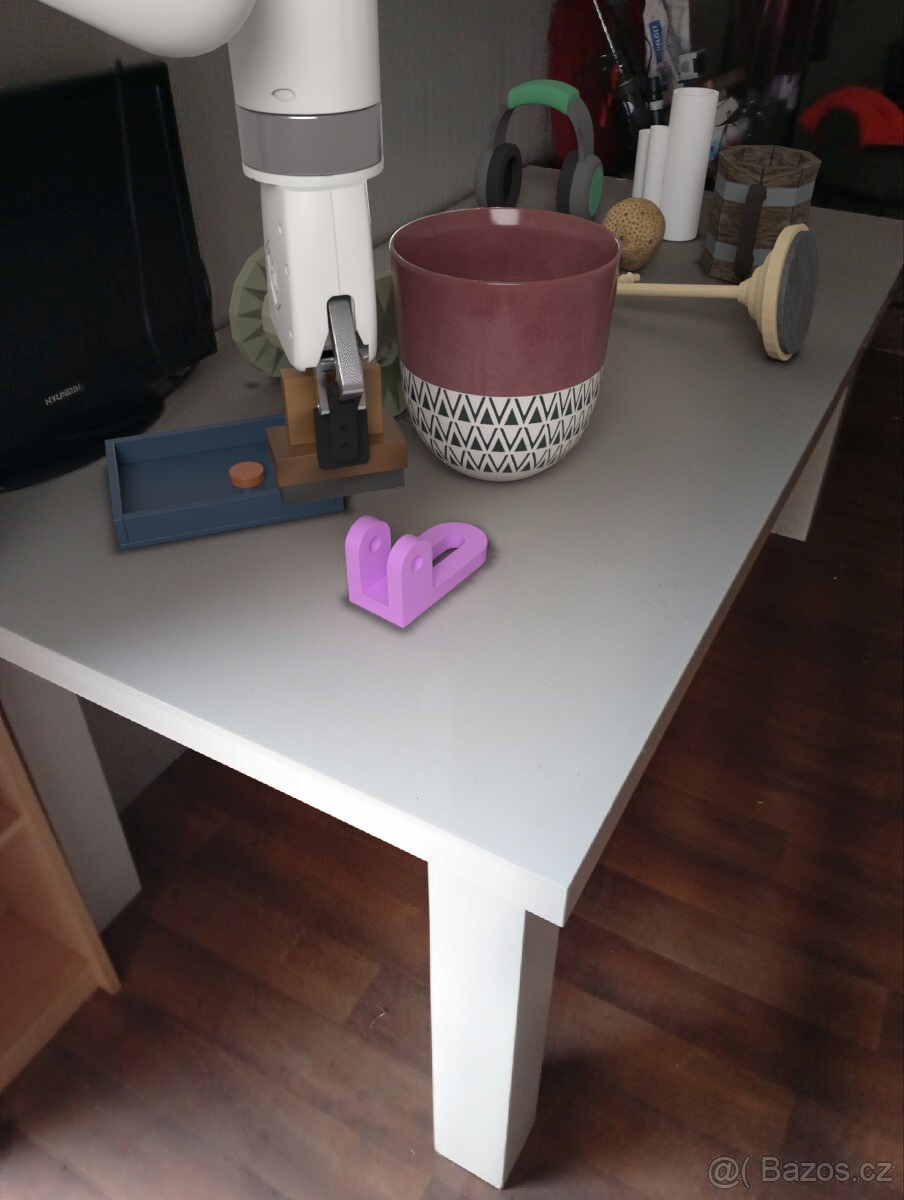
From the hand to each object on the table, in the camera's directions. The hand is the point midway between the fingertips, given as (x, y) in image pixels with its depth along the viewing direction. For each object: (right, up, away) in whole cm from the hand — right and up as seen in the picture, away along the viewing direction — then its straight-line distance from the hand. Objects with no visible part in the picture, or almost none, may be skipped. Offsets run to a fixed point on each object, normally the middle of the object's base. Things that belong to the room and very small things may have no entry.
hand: (335, 442), depth 61 cm
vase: (+40, +48, +88) cm, 108 cm away
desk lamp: (+27, +21, +54) cm, 64 cm away
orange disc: (-12, +1, +28) cm, 30 cm away
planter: (+12, +3, +32) cm, 34 cm away
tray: (-14, 0, +28) cm, 31 cm away
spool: (-5, +12, +44) cm, 46 cm away
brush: (0, -2, +2) cm, 3 cm away
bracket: (+6, -8, +17) cm, 20 cm away
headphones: (+21, +51, +93) cm, 108 cm away
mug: (+49, +36, +73) cm, 95 cm away
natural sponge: (+33, +37, +74) cm, 89 cm away
